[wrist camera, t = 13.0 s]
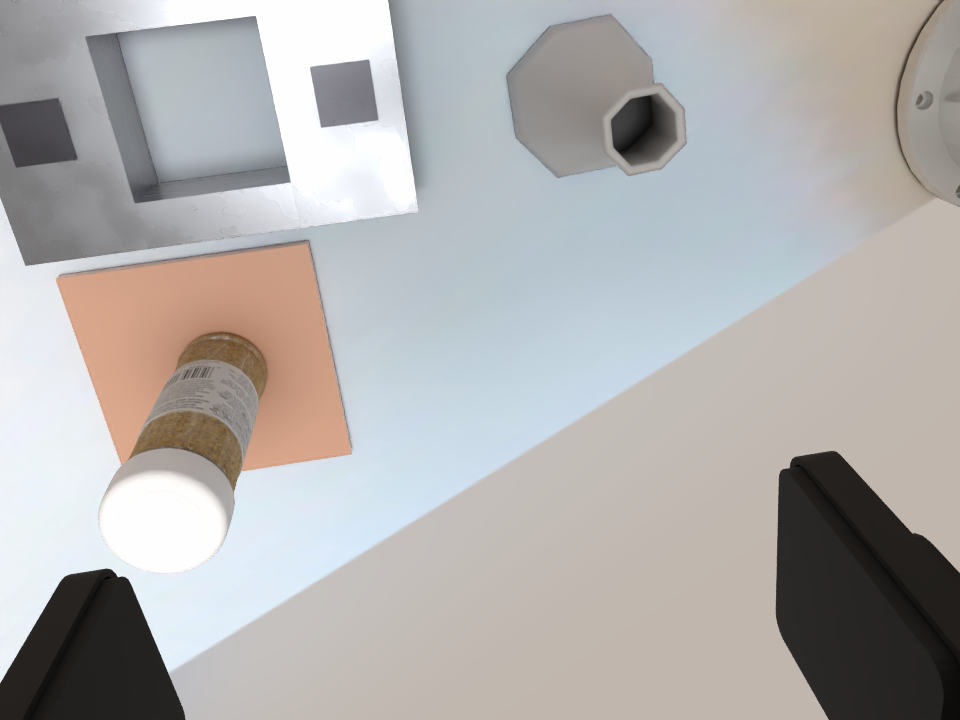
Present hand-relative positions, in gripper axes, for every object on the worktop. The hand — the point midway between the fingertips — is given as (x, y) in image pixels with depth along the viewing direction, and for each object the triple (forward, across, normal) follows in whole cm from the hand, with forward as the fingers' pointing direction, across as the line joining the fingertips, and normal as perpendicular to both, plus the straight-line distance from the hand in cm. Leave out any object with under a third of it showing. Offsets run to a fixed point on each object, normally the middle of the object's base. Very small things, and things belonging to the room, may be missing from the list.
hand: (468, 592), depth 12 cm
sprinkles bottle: (+29, +12, +8) cm, 33 cm away
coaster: (+30, +13, +8) cm, 33 cm away
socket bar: (+30, +9, -4) cm, 31 cm away
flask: (+31, -8, -2) cm, 32 cm away
